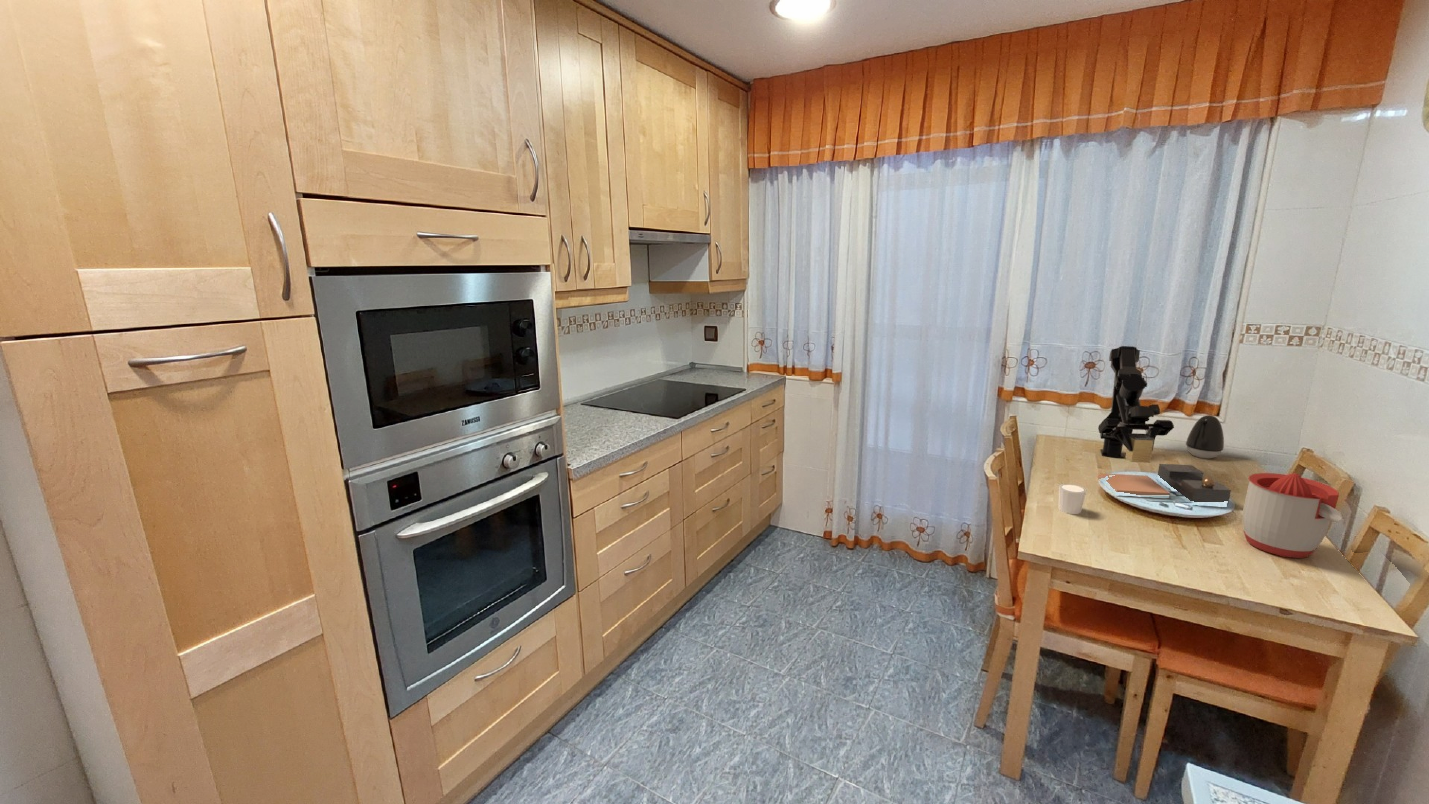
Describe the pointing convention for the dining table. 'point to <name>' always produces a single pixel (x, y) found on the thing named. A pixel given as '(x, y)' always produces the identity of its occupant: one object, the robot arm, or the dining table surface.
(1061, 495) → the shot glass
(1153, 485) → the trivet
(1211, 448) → the dark grey egg shape
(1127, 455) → the tan wooden block
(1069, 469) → the dining table surface
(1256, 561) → the dining table surface
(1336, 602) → the dining table surface
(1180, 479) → the body
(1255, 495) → the citrus juicer
